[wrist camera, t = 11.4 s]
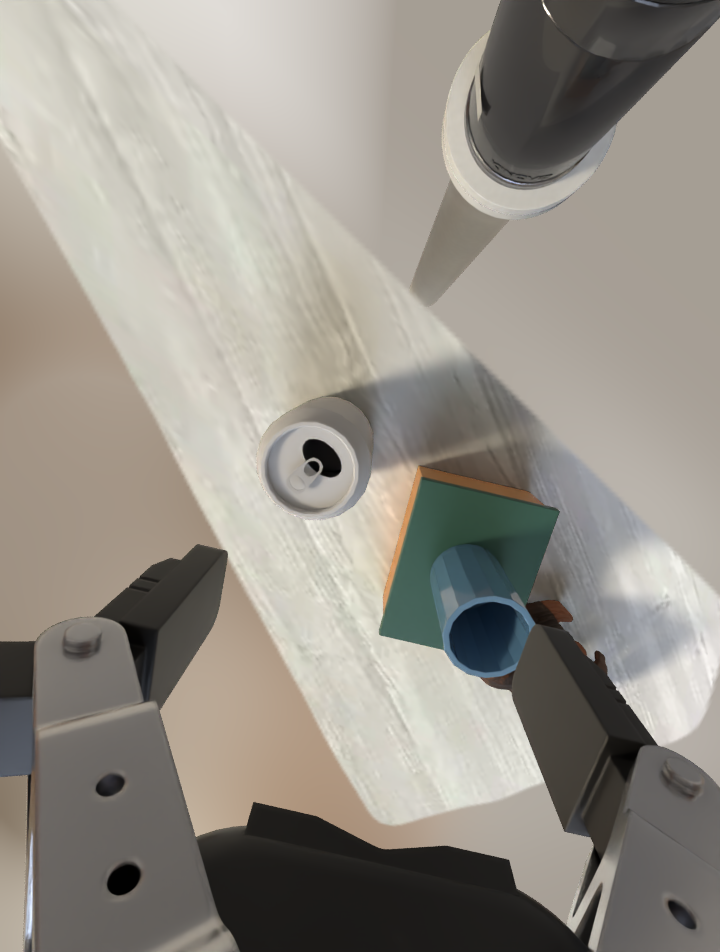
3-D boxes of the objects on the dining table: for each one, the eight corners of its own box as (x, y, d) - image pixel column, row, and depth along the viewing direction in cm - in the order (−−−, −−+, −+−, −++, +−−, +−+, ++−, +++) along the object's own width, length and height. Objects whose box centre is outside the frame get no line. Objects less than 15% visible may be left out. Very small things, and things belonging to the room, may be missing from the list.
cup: (440, 536, 34) (457, 587, 26) (511, 553, 34) (549, 608, 27) (421, 600, 36) (432, 666, 28) (489, 616, 36) (519, 686, 28)
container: (415, 461, 39) (422, 478, 33) (533, 489, 39) (560, 511, 33) (379, 598, 42) (378, 635, 37) (487, 623, 42) (504, 664, 37)
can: (391, 440, 39) (396, 473, 27) (330, 497, 40) (310, 552, 28) (330, 376, 38) (308, 382, 26) (270, 437, 39) (223, 469, 27)
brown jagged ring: (591, 591, 42) (646, 679, 36) (548, 642, 48) (589, 725, 42) (472, 598, 39) (510, 695, 33) (443, 651, 45) (471, 741, 39)
